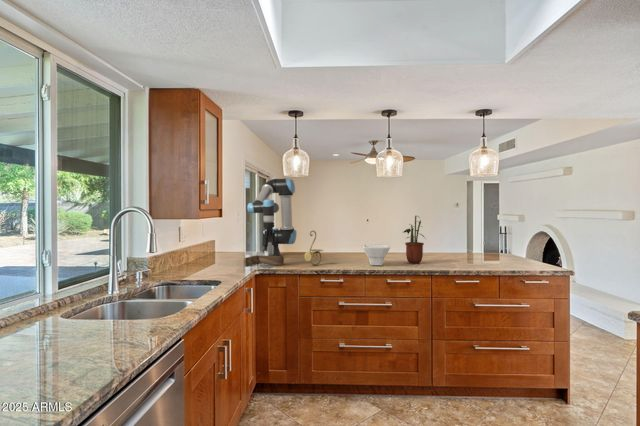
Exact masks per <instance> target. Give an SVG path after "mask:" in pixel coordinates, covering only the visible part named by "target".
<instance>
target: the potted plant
mask: <svg viewBox="0 0 640 426" xmlns="http://www.w3.org/2000/svg"><path fill="white" fill-rule="evenodd" d="M417 218H419V221H417ZM417 222H418V224H417ZM421 223H422V221H421V217H420V216H419V215H414V226H413V224H411V223H409V225H410V228H407V229H405V230H404V231H402V233H407V235H409V233H410V236H407V237H406V239H408V238H409V239H410V240H409V241H407V242H405V243H404V244H405V248H406V249H405V253H406V255H405V256H406V260H407V262H408V263H409V264H411V263H412V264H413V265H418V264H420V263H421V262H422V260H423V255H424V254H423V253H424V249H423V248H424V244H425V243H424V242H419V241H418V238H419V235H420V236H422V237H423V238H424V239H426V237H425V236H424V235H423V234H422V233H419V231H420V227H422V228H423V226H422V225H421ZM417 225H418V226H417Z"/></svg>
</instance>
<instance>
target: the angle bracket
mask: <svg viewBox="0 0 640 426" xmlns="http://www.w3.org/2000/svg"><path fill="white" fill-rule="evenodd" d="M268 252H269V256H270V255H272V242H268ZM256 255H258V256H265V253H264V252H263V251H262V252H257V253H256Z"/></svg>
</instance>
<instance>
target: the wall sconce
mask: <svg viewBox="0 0 640 426" xmlns="http://www.w3.org/2000/svg"><path fill="white" fill-rule="evenodd" d="M313 233H314V234H313ZM309 235H310V237H313V236H314V239H313V240H312V243H311V244H310V247H309V251H306V252H305V253H304V260H305V261H306V262H309V263H310V264H311V265H312V266H317V265H319V264H320V263H321V261H322V254H321V252H324V249H321V248H320V249H318V248H317V249H316V248H314V249H312V248H313V245H314V243H315V241H316V239H317V232H316V231H315V230H311V231H310V232H309ZM311 252H314V253H311ZM318 254H319V260H318V262H316V263H313V262H312V258H313V259H317V257H318Z"/></svg>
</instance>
